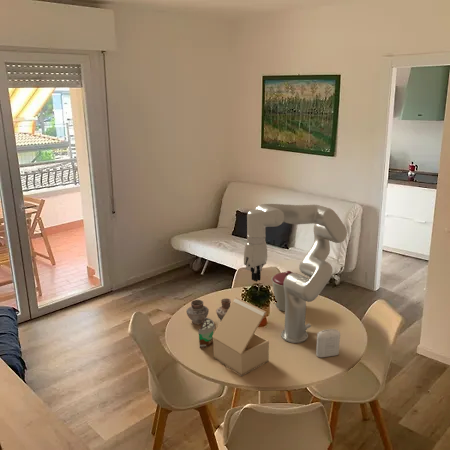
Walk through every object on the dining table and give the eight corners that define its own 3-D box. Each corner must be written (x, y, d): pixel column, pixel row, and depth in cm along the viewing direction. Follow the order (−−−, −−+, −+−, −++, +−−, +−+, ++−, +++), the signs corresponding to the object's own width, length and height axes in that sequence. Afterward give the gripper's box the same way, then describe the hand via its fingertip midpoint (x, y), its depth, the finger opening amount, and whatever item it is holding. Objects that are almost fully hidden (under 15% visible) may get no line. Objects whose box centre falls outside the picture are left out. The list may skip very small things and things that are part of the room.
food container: (212, 350, 211) (211, 331, 208) (198, 349, 212) (198, 330, 209) (217, 336, 222) (217, 318, 219) (205, 335, 224) (204, 317, 221)
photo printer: (335, 350, 210) (337, 325, 206) (340, 355, 206) (341, 330, 202) (314, 353, 208) (315, 328, 204) (318, 358, 204) (319, 333, 200)
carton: (240, 344, 216) (240, 325, 213) (268, 361, 202) (268, 340, 200) (213, 357, 206) (213, 337, 203) (241, 375, 192) (241, 354, 190)
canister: (305, 301, 257) (307, 266, 251) (303, 317, 240) (305, 279, 234) (273, 298, 261) (273, 263, 254) (268, 313, 244) (269, 276, 238)
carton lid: (236, 297, 207) (235, 296, 207) (266, 312, 194) (265, 311, 193) (213, 337, 203) (211, 336, 202) (241, 354, 189) (240, 353, 189)
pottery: (235, 327, 231) (235, 305, 228) (185, 327, 232) (184, 305, 229) (236, 316, 242) (235, 295, 238) (188, 316, 243) (187, 295, 239)
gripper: (262, 233, 202) (262, 272, 207) (236, 241, 192) (236, 282, 197) (275, 237, 196) (274, 277, 201) (249, 245, 187) (249, 287, 192)
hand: (256, 279), depth 199 cm, fingers closed
